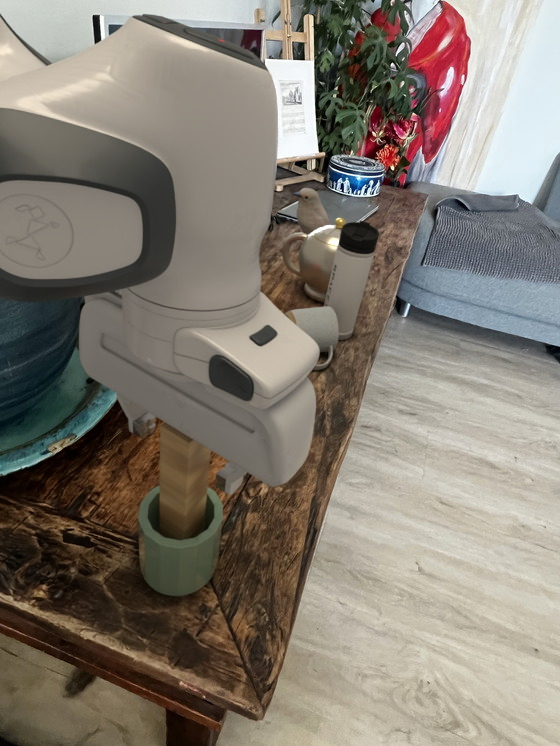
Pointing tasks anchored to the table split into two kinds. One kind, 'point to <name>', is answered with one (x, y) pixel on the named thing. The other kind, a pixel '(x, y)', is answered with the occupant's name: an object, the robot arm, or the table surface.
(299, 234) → the teapot
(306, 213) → the bird
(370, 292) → the table surface
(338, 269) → the travel mug
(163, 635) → the table surface
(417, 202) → the table surface
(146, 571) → the pot
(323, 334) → the ceramic mug
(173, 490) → the long wooden block
